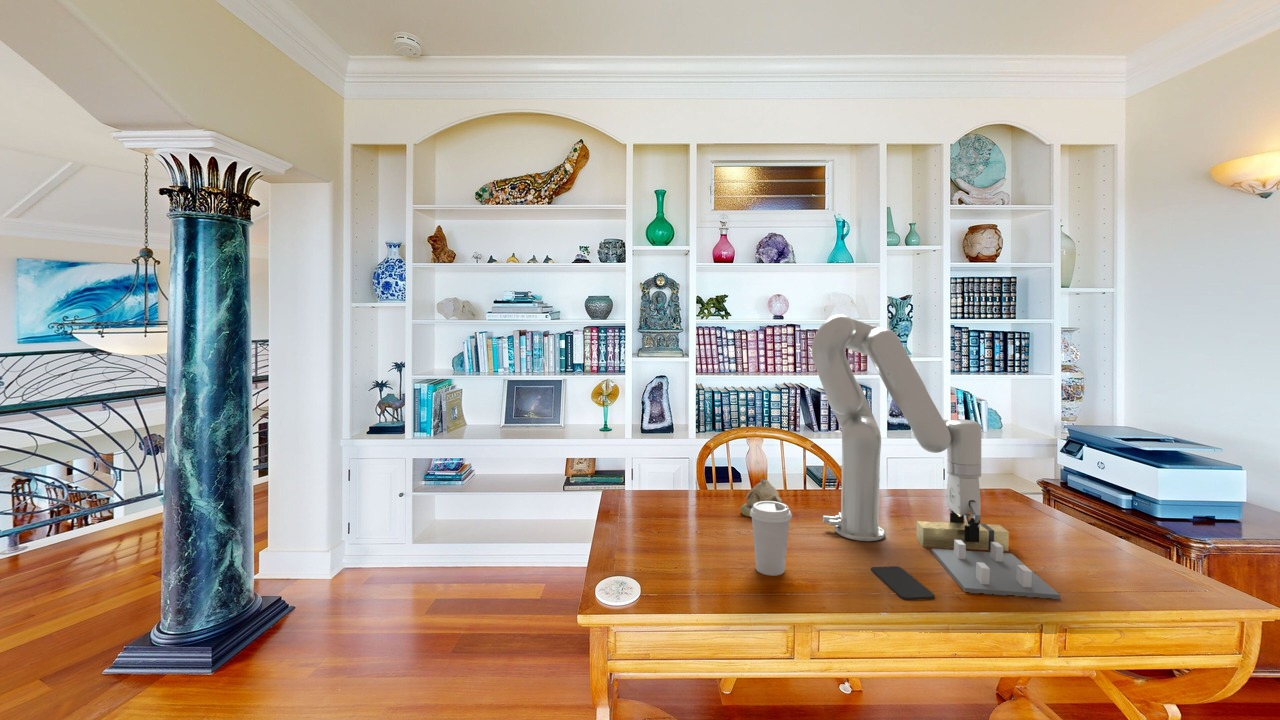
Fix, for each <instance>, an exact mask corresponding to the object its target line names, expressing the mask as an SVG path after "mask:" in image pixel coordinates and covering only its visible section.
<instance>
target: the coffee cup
mask: <svg viewBox="0 0 1280 720" xmlns="http://www.w3.org/2000/svg"><path fill="white" fill-rule="evenodd" d="M750 516H751V525H752V535H753V545H754V561H755V570H756V571H757V572H758V573H760V574H762V575H765V576H769V577H770V576H775V577H776V576H781V575H783V574H784V573H785V571H786V560H787V550H788V540H789V530H790V520H792V519H793V514H792V512H791V510H790V508H789V506H788V505H787V504H786V503H784V502H782V503H780V502H775V501H760V502H757V503H755V504H754V505H753V508H752V509H751V511H750ZM750 516H749V517H750Z"/></svg>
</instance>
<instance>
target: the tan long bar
mask: <svg viewBox="0 0 1280 720" xmlns="http://www.w3.org/2000/svg"><path fill="white" fill-rule="evenodd" d="M964 525H966V522H964V523H950V522H944V521H924V520H923V521H921V520H917V521H916V538H915V539H916V541H917V540H918V543H919V544H920V545H921V546H922V547H923V548H936V547H937V548H936V549H954V540H961V541H962V542H963V543H964V544H965V545H966V550H973V551H976V550H977V551H990V550H991V542H998V543H999V544H1000V545H1002V546H1003V552H1009V541H1010V540H1009V539H1010V531H1009V530H1007V529H1006V528H1005V527H1003V526H1002V525H1001V524H989V523H988V524H987V523H983V522H980V527H979V542H966V541H965V540H964Z"/></svg>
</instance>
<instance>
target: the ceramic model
mask: <svg viewBox="0 0 1280 720" xmlns="http://www.w3.org/2000/svg"><path fill="white" fill-rule="evenodd" d="M745 500H747V503H744V504H742V505H741V506H740V511H741V513H742V515H744V516H746V517H751V516H750V511H751V509H752V508H753V505H754V504H755V503H757V502H760V501H775V502H780V503H783V499H782V498H781V496H780V494H779V492H778V490H777V489H776V487H774V486H773V484H771V483H770V481H769V480H768V479H765V478H761V479H760V482H758V483H756V484H755V486H753V488H751V489H750V491H748V492H747V493H746V496H745ZM751 518H752V517H751Z"/></svg>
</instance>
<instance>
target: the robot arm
mask: <svg viewBox="0 0 1280 720" xmlns="http://www.w3.org/2000/svg"><path fill="white" fill-rule="evenodd" d="M846 349H848V350H851V351H854V352H855V353H856V352H857V353H860V354H862V355H865V356H869V358H870V360H871V362H872V364H873V366H874V367H875V370H876V371H877V373H878V375H879V376H880V378H881V380H882V382H883V384H884V386H885V388H886V390H887V391H888V394H889V395H890V397H891V398H892V400H893V401H894V402H895V404H896V406H898V408H899V409H900V411H901V412H902V414H903V416H904V417H905V419H906V421H907V423H908V425H909V427H910V428H911V430H912V432H913V436H914V437H915V440H916V441H917V442H918V444H919V447H921V448H922V449H923V450H925V451H927V452H930V453H933V454H937V453H939V454H940V453H942V452H944V451H946V450H947V451H946V452H947V453H946V454H947V455H946V456H947V461H946V463H947V468H946V469H947V470H946V472H947V483H946V498H945V499H946V501H945V502H946V506H947V507H948V508H949V523H966V525H964V540H965V541H966V542H979V527H980V523H981V517H982V514H981V489H980V478H981V477H982V426H981V424H980V422H978V421H976V420H970V419H953V420H951V419H950V420H949V419H943V417H942V415H941V413H940V411H939V410H938V407H936V405H935V403H934V401H933V399H932V397H931V395H930V394H929V392H928V390H927V387H926V385H925V384H924V381H923V380H922V378H921V376H920V374H919V372H918V370H917V368H916V367H915V365H914V364H913V362H912V360H911V357H910V356H909V354H908V353H907V351H906V349H905V347H904V345H903V343H902V342H901V340H900V338H899V337H898V335H897V333H895V332H894V331H893V330H891V329H888V328H884V327H881V326H877V325H873V324H870V323H866V322H864V321H861V320H858V319H855V318H853V317H851V316H848V315H845V314H835V315H831V316H830V317H828V318H827V319H826V320H825V321H824V322H823V323H822V324H821V325H820V327H819V328H818V330H817V331H816V332H815V334H814V337H813V340H812V345H811V357H812V360H813V365H814V367H815V370H816V372H817V374H818V377H819V379H820V380H819V381H820V383H821V385H822V388H823V391H824V392H825V395H826V399H827V402H828V404H829V406H830V409H832V410H833V413H834V416H835V417H836V420H837V422H838V424H839V427H840V430H841V492H840V493H841V498H840V499H841V501H840V502H841V503H840V507H841V508H840V511H839V512H838V514H836V515H833V516H830V515H823V516H822V522H823V523H826V524H828V525H829V526H834V531H835V533H836V534H838V535H839V536H841V537H843V538H845V539H850V540H854V541H860V542H876V541H880V540H882V539H884V537H885V529H883V528H882V527H880V526H879V523H880V522H879V518H880V517H879V514H880V480H881V479H880V478H881V477H880V466H881V450H882V434H881V431H880V428H879V426H878V423H877V421H876V419H875V416H874V414H873V412H872V409H871V406H870V404H869V402H868V400H867V397H866V395H865V393H864V390H863V388H862V386H861V384H860V383H859V382H858V381H857V380H856V377H855V375H854V372H853V370H852V367H851V365H850V362H849V360H848V358H847V355H846ZM969 518H970V519H969Z"/></svg>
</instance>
